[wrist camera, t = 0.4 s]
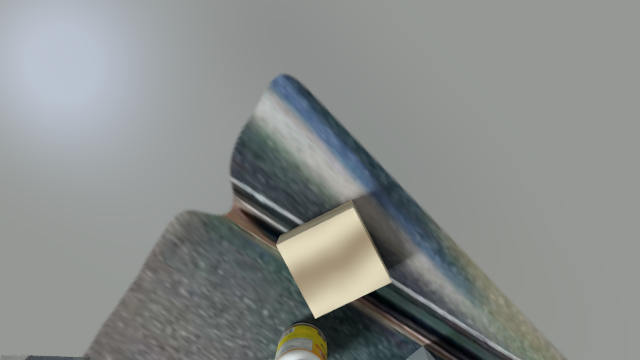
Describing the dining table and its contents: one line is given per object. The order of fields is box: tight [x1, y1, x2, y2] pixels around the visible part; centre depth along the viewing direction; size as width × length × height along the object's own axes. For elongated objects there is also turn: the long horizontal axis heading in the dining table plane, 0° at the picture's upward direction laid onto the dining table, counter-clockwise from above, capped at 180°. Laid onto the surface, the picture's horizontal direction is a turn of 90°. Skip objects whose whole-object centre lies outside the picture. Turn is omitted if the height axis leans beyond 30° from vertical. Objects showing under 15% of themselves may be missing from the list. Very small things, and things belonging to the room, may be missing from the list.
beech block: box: [276, 200, 391, 319], centre depth 61 cm, size 9×9×4 cm
